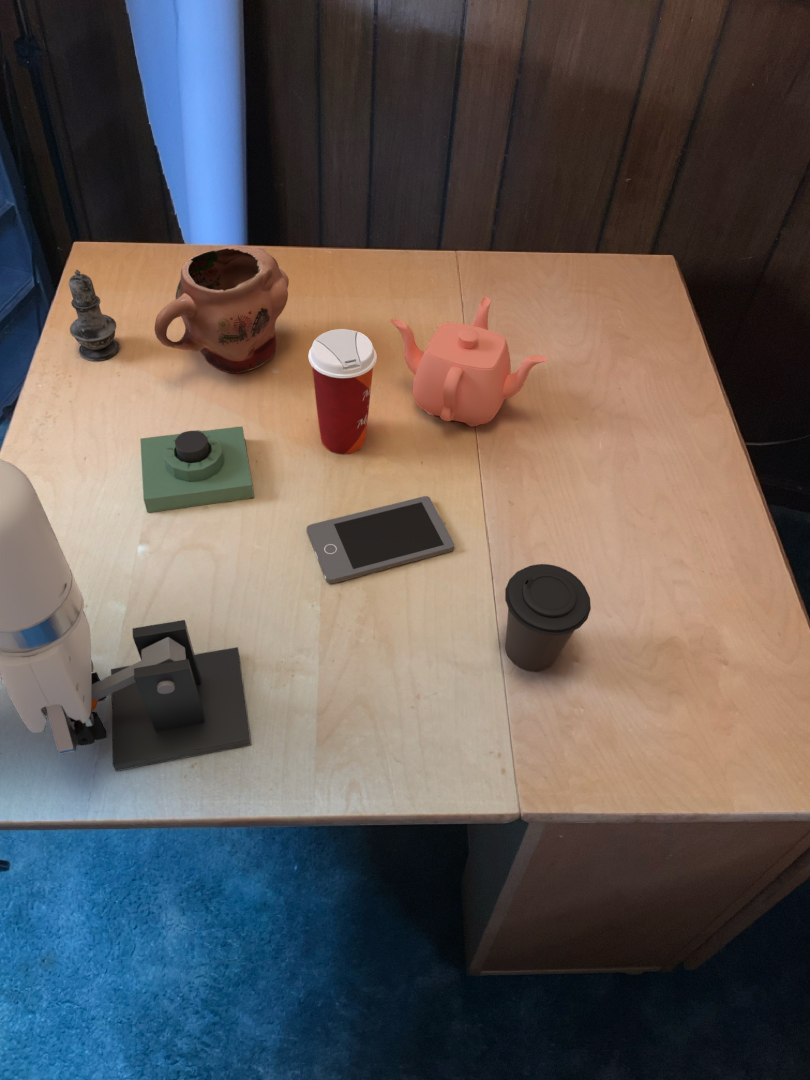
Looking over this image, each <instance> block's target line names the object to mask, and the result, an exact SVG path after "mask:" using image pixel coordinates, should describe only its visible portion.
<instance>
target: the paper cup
mask: <svg viewBox="0 0 810 1080" xmlns="http://www.w3.org/2000/svg"><path fill="white" fill-rule="evenodd" d="M377 358H378V357H377V352H376V349H375V348H374V345H373V343H372V341H371V339H370V338H369V337H368V336H367V335H366V334H364V333H362V332H360V331H357V330H354V329H353V330H352V329H348V328H335V329H331V330H328V331H325V332H323V333H321V334H319V335H318V336H317V337H316V338H314V340H313V342H312V345H311V347H310V348H309V351H308V362H309V364H310V365H311V369H312V378H313V386H314V397H315V404H316V413H317V422H318V431H319V437H320V442H321V444H322V446H323V447H324V448H325V449H326V450H328V451H329V452H331V453H334V454H338V455H348V454H352V453H355V452H357V451H359V450H360V449H361V448H362V447H363V446H364V445H365V442H366V438H367V429H368V421H369V414H370V413H369V412H370V403H371V402H370V401H371V394H372V393H371V391H372V382H373V373H374V366H375V365H376V363H377V360H378V359H377Z"/></svg>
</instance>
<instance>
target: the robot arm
mask: <svg viewBox="0 0 810 1080" xmlns="http://www.w3.org/2000/svg"><path fill="white" fill-rule="evenodd" d="M84 608H85V602H84V596H83V594H82V591H81V589H80V587H79V585H78V583H77V580H76V578H75V577H74V573H73V572H72V569H71V567H70V564H69V562H68V560H67V558H66V556H65V553H64V551H63V549H62V546H61V545H60V542H59V540H58V538H57V536H56V533H55V531H54V528H53V527H52V525H51V522H50V521H49V518H48V516H47V513H46V511H45V508H44V507H43V504H42V502H41V500H40V497H39V496H38V493H37V490H36V488H35V487H34V485H33V483H32V482H31V480H30V478H29V477H28V476H27V474H26V473H25V472H23V470H22V469H20V468H19V467H18V466H16V465H15V464H13V463H12V462H9V461H6V460H4V459H1V458H0V678H1V681H2V683H3V685H4V688H5V690H6V692H7V695H8V696H9V698H10V700H11V702H12V704H13V707H15V710H16V711H17V713H18V715H19V717H20V718H21V720H22V722H23V724H24V725H25V727H26V728H27V729H28V730H29V731H30V732H31V733H33V734H35V733H36V734H37V733H44V732H45V729H46V725H47V721H48V722H49V725H50V728H51V731H52V736H53V739H54V742H55V745H56V746H55V747H56V749H57V752H58V754H59V755H62V754H66V753H72V752H76V751H77V747H78V746H80V747H81V746H89V745H92V744H94V743H96V741H100V740H105V739H107V737H108V730H107V728H106V727H105V725H104V723H103V721H102V719H101V717H100V715H99V713H98V711H95V710H94V711H93V712H92V711H91V694H92V684H94V683H96V682H98V681H100V680H101V678H100V676H99V674H98V673H97V672H96V671H95V672H94V669H95V668H94V662H93V659H92V636H91V635H92V634H91V627H90V623H89V621H88V618H87V615H86V613H85V611H84V610H85V609H84ZM106 698H107V696H105V697H103V698H101V699H99V700H98V703H99V702H104V701H105V699H106Z"/></svg>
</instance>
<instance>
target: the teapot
mask: <svg viewBox="0 0 810 1080" xmlns="http://www.w3.org/2000/svg"><path fill="white" fill-rule="evenodd" d="M490 307H491V298H490V296H484V297H483V298H482V299H481V300H480V303H479V305H478V309H477V311H476V314H475V316H474V319H473V321H472V323H471V324H466V323H459V322H448V321H447V322H443V323H441V324H440V325H439V326H438V327H437V329H436V330H435V332H434V333H433V334H432V337H431V338H430V340H429V342H428V344H427V346H426V348H425V350H424V351H423V350H422V349H420V347H419V346H418V345H417V343H416V339H415V334H414V331H413V329H412V328H411V327H410V325H409V324H407V323H406V322H404V321H402V320H400V319H397V318H391V319H390V321H389V322H390V323H391V324H392V325H393V326H394V327H395V328H396V329H397V330H398V331H399V333H400V334H401V338H402V343H403V355H404V362H405V364H406V366H407V368H408V369H409V371H410V372H411V373H412V374H413V375H414V379H413V383H412V397H413V399H414V401H415V403H416V404H417V406H418V407H419V408H421V409H422V410H424V411H425V412H426V414H428V415H429V416H433V417H437V416H438V417H440V419H441V420H442V421H444V422H450V421H455V422H461V423H465V424H466V425H468V426H470V427H478V426H480V425H484V424H488V423H489V422H491V421H492V420H493V419H494V418H495V416H496V415H497V414H498V412H499V411H500V409H501V407H502V406H503V404H504V401H505V399H507V398H511V397H513V396H515V395H516V394H518V392H520V391H521V389H522V388H523V387H524V384H525V383H526V380H527V378H528V375H529V373H530V371H531V370H532V369H533V367H535V366H536V365H538V364H541V363H545V362H547V361H548V360H549V358H548V357H546V356H543V355H529V356H527V357H525V358H524V359H523V360H522V361H521V363H520V365H519V367H518V369H517V371H516V372H513V373H512V371H511V370H512V366H511V365H512V364H511V355H510V349H509V345H508V341H507V339H506V338H505V337H504V336H503V335H501V334H499V333H497V332H494V331H492V330H489V310H490Z"/></svg>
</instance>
